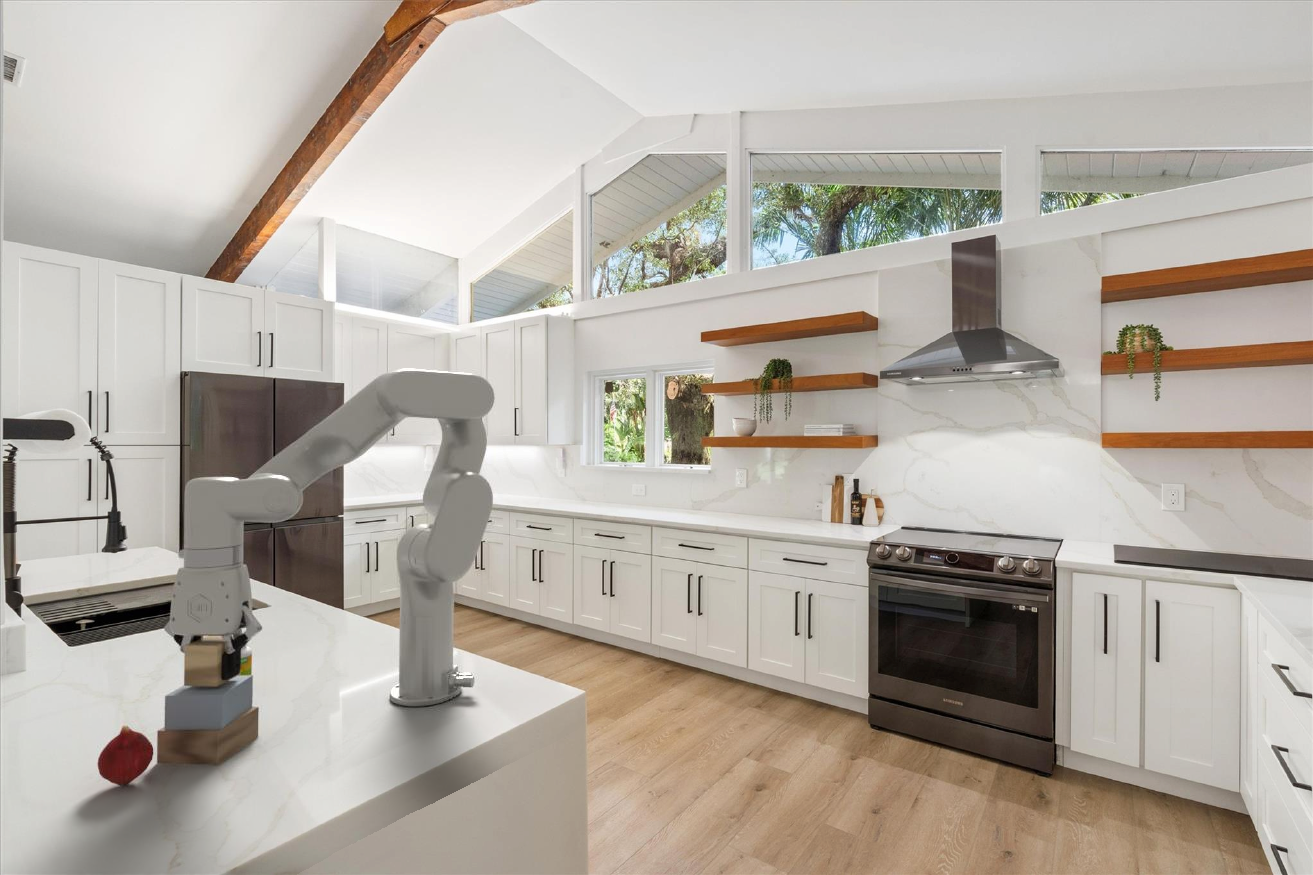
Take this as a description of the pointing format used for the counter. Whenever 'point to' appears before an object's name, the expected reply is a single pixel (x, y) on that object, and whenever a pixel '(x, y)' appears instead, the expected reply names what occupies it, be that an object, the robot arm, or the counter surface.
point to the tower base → (207, 741)
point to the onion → (125, 757)
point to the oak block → (204, 662)
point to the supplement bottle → (246, 661)
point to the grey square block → (208, 704)
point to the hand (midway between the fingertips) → (212, 675)
